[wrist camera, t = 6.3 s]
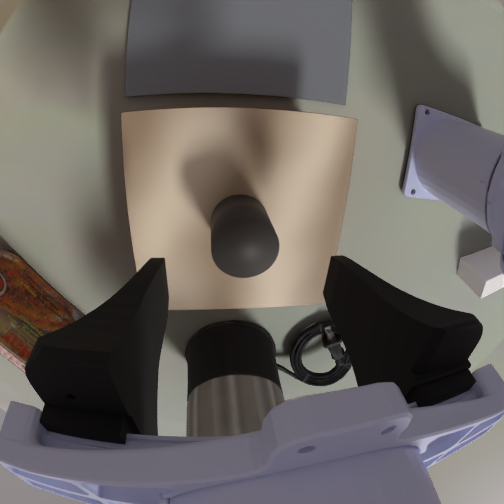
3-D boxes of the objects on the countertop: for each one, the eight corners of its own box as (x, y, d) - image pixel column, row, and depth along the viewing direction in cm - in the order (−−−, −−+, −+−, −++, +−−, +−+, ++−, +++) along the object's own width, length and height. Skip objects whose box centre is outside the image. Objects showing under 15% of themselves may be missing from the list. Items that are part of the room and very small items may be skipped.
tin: (109, 334, 27) (90, 403, 19) (93, 346, 27) (74, 411, 20) (-2, 231, 20) (-53, 283, 12) (-12, 251, 20) (-58, 303, 13)
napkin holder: (434, 277, 29) (463, 308, 24) (486, 196, 25) (522, 217, 20) (480, 307, 34) (501, 331, 29) (521, 246, 30) (546, 266, 25)
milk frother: (165, 349, 28) (157, 488, 16) (295, 258, 25) (365, 414, 12) (252, 401, 35) (270, 507, 22) (361, 338, 31) (416, 448, 19)
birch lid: (351, 117, 15) (388, 127, 12) (322, 296, 21) (340, 334, 18) (125, 111, 14) (99, 117, 10) (145, 302, 20) (136, 344, 16)
